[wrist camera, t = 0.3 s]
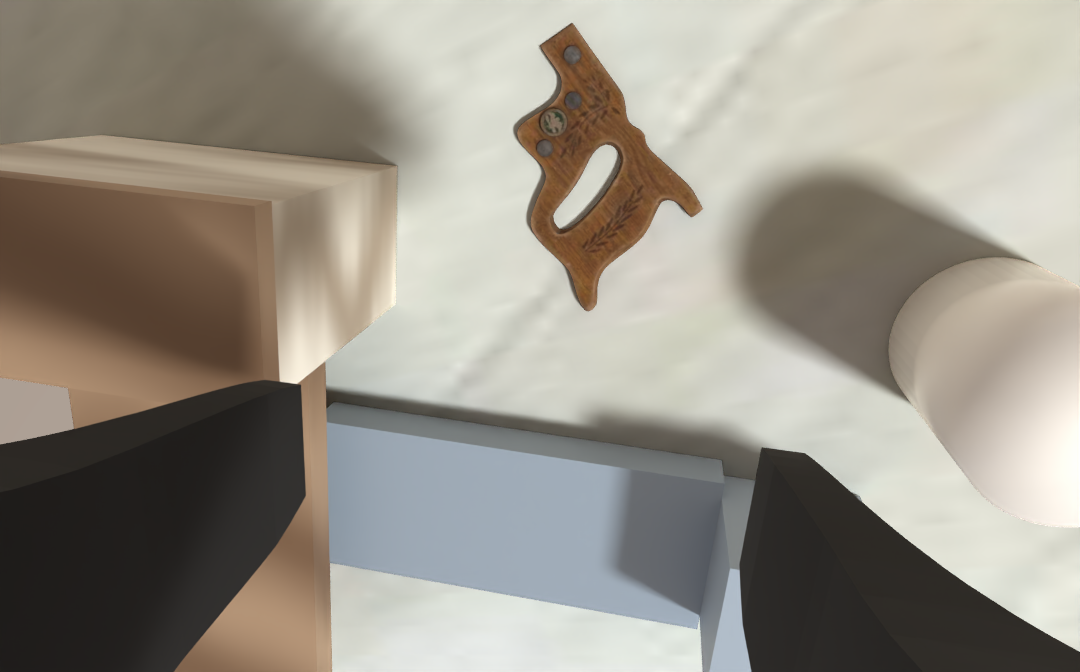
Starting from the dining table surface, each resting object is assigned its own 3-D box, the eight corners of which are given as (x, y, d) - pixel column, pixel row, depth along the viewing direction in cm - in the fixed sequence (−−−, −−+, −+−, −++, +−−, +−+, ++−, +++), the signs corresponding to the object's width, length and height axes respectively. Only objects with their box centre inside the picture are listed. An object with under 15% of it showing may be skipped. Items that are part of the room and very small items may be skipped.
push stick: (826, 621, 23) (861, 743, 18) (337, 535, 25) (269, 627, 21) (863, 480, 21) (911, 580, 17) (334, 401, 23) (259, 472, 19)
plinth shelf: (394, 631, 26) (288, 842, 18) (152, 585, 27) (-33, 767, 20) (401, 162, 20) (254, 206, 13) (97, 131, 21) (-188, 155, 14)
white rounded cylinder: (1048, 434, 20) (1167, 544, 15) (870, 409, 20) (930, 508, 16) (1108, 268, 18) (1260, 332, 13) (912, 247, 19) (992, 302, 14)
